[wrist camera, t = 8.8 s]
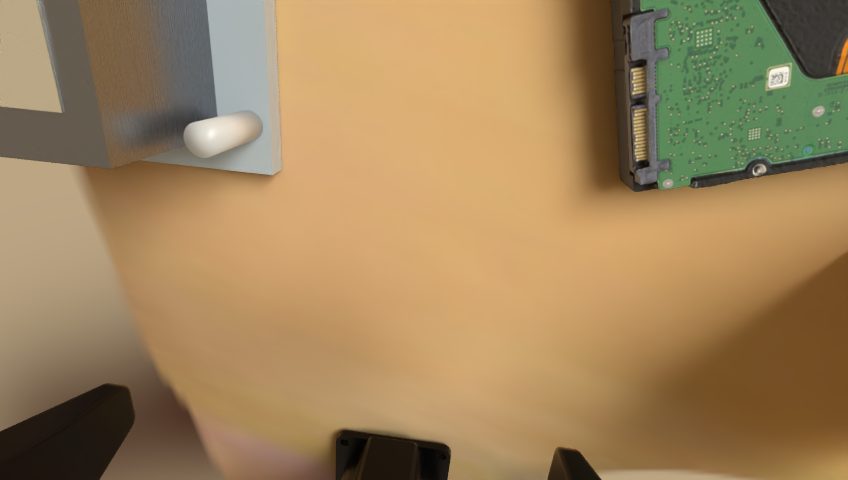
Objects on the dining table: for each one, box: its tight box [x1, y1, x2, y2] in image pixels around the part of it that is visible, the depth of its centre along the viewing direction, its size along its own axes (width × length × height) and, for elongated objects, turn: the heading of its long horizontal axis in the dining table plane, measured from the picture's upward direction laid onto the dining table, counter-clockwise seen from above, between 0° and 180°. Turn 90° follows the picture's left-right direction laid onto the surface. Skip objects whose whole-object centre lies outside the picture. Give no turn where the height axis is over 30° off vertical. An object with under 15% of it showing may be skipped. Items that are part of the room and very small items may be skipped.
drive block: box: [0, 0, 218, 169], centre depth 14 cm, size 9×4×6 cm, turn 175°
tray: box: [140, 0, 282, 175], centre depth 16 cm, size 12×9×4 cm
